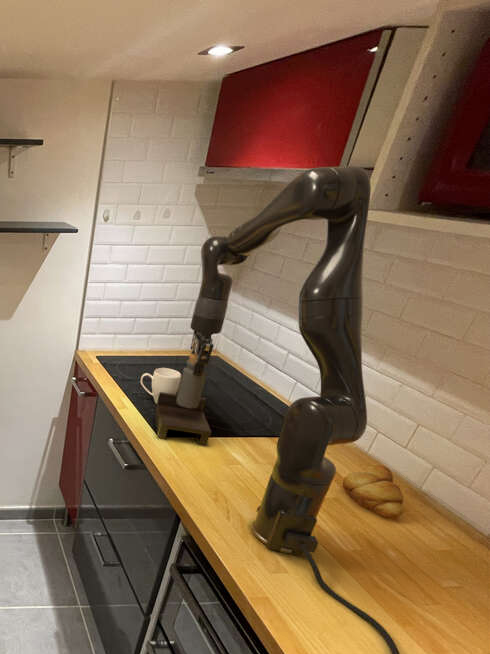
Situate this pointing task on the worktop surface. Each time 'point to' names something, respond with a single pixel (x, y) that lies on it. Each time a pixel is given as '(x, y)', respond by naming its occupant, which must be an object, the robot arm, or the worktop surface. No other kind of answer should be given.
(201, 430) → the dark brown legged piece
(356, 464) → the worktop surface
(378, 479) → the bread roll
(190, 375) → the bottle
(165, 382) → the mug
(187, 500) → the worktop surface
